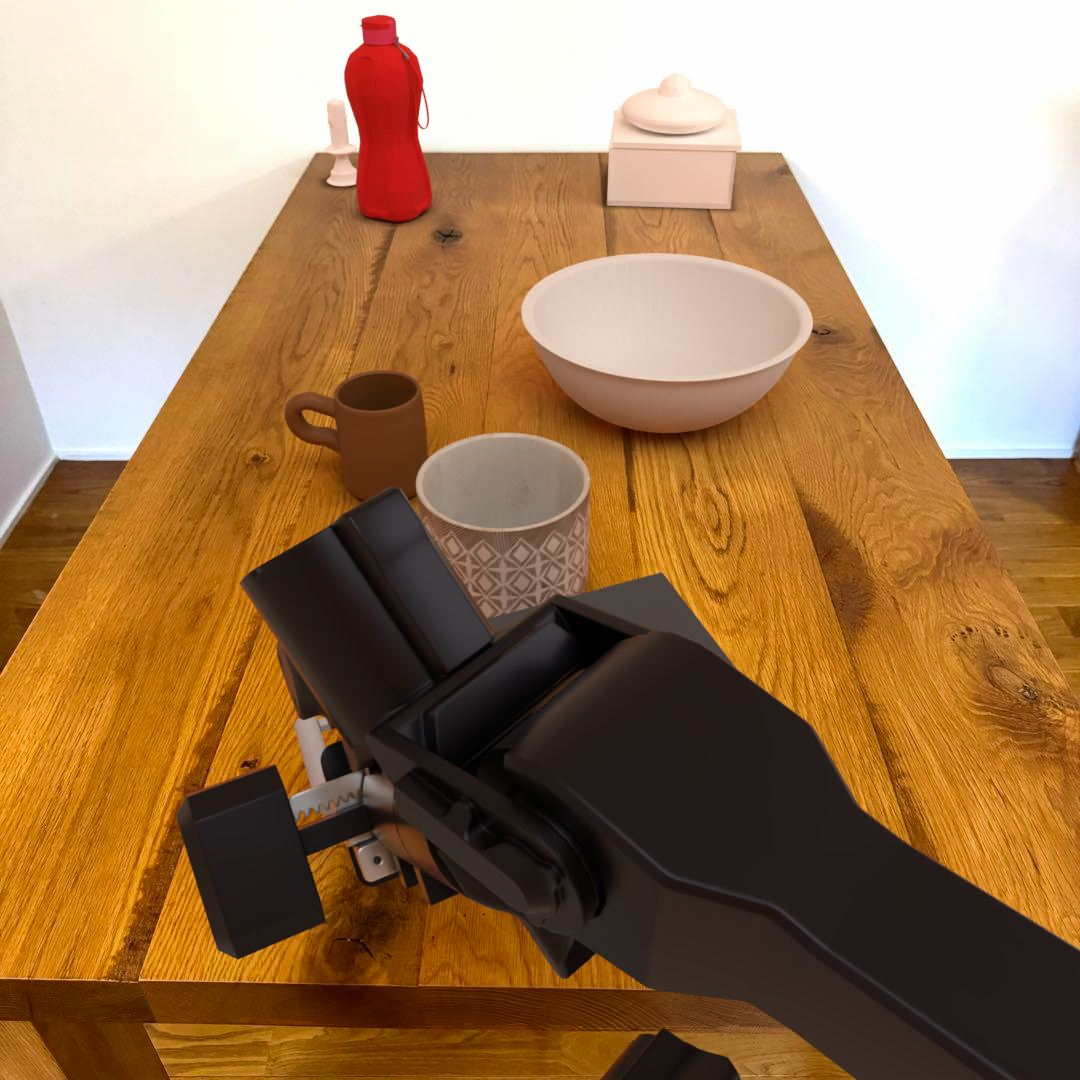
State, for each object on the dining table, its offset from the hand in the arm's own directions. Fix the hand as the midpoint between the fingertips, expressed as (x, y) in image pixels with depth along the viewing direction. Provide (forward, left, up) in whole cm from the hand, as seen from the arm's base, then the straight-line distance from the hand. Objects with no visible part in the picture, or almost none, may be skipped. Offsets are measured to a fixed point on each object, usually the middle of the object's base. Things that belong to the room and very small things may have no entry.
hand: (392, 780), depth 50 cm
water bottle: (+112, -10, -14) cm, 113 cm away
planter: (+29, -10, -14) cm, 33 cm away
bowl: (+54, -30, -14) cm, 63 cm away
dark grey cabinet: (+11, -13, -14) cm, 22 cm away
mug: (+46, 0, -14) cm, 48 cm away
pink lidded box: (+114, -50, -14) cm, 125 cm away
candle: (+127, -3, -14) cm, 127 cm away
